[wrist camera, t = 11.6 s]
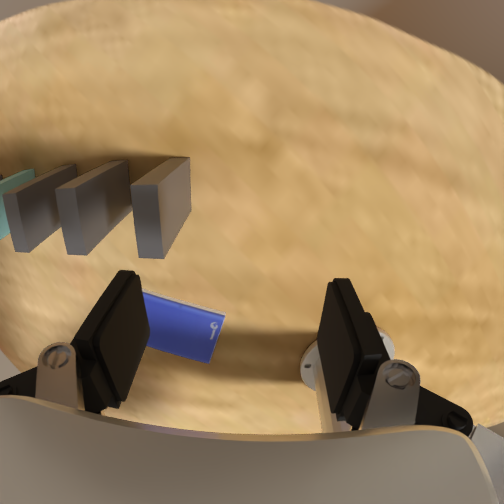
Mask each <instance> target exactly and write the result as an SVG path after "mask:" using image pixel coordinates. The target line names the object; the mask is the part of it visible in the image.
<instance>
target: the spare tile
mask: <svg viewBox="0 0 504 504" xmlns="http://www.w3.org/2000/svg"><path fill="white" fill-rule="evenodd" d="M34 178H35V171H34V169H28V170H23V171H21V172H18V173H16V174H14V175H12V176H9V177H7V178H5V179H3V180H1V181H0V240H1V239H2V238H4V237H5V236H6V235H8V234H9V233H10V229H9V225H8V221H7V217H6V212H5V207H4V202H3V197H2V194H4V193H6V192H8V191H10V190H12V189H14V188H15V187H17V186H19V185H21V184H23V183H25V182H28V181H30V180H32V179H34Z"/></svg>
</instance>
